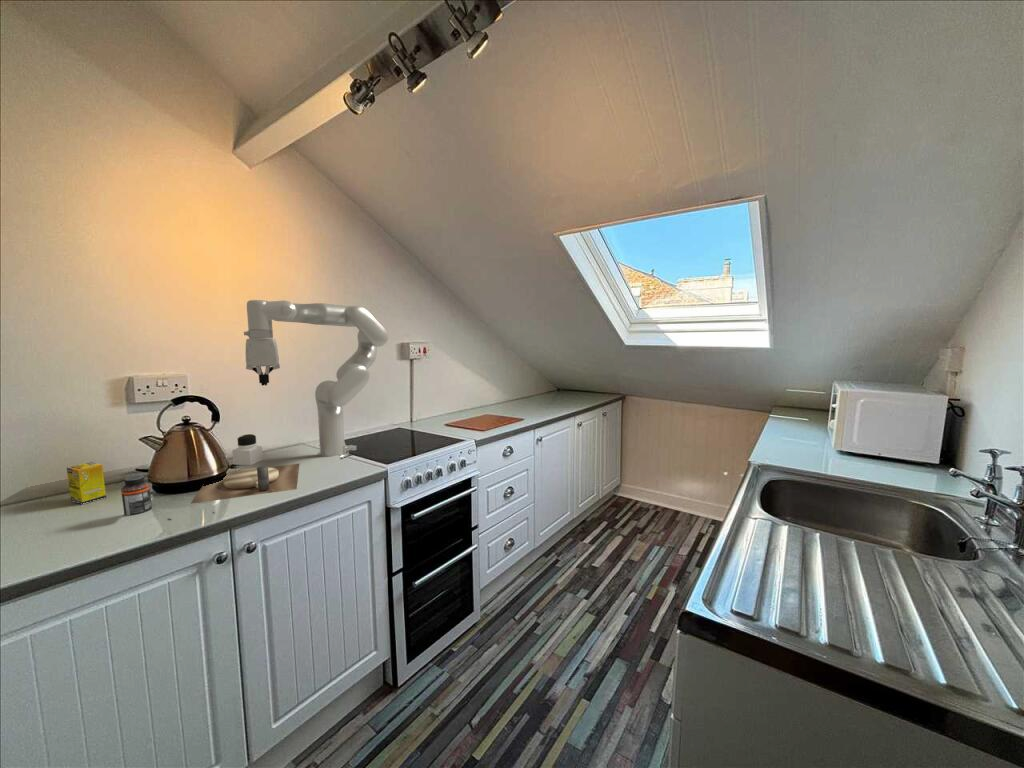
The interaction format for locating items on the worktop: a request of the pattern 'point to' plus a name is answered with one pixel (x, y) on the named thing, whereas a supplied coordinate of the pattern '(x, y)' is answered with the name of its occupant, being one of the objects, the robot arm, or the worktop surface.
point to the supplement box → (86, 482)
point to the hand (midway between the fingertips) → (264, 385)
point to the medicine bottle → (247, 451)
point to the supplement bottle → (136, 496)
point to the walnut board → (282, 483)
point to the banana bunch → (251, 478)
